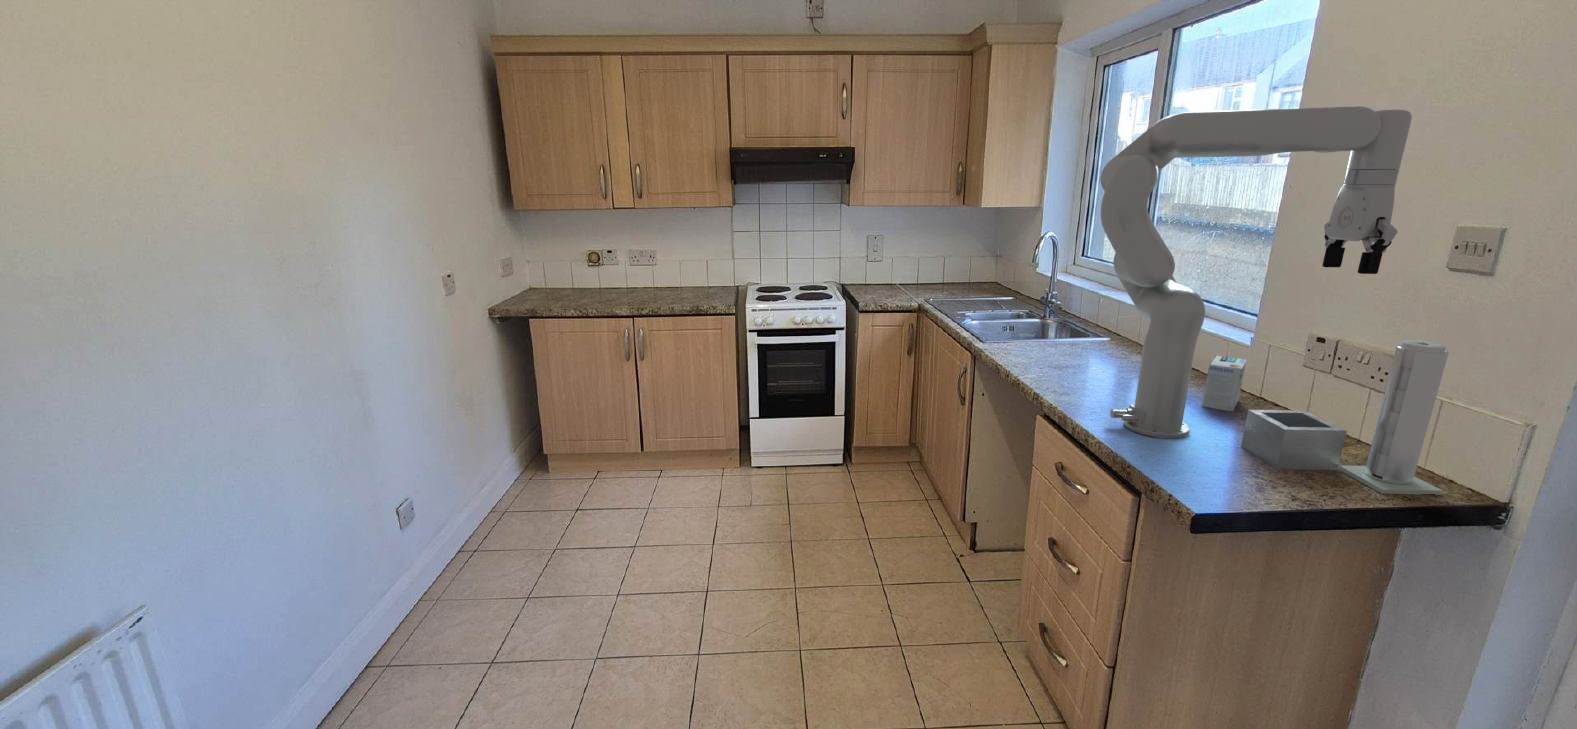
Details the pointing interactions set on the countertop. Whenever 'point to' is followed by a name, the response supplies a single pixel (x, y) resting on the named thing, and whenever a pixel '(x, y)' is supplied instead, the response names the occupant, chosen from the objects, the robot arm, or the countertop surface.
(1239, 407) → the countertop surface
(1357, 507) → the countertop surface
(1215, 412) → the countertop surface
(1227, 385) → the light bulb box
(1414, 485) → the mat
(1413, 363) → the silver tall cylinder
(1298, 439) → the housing
